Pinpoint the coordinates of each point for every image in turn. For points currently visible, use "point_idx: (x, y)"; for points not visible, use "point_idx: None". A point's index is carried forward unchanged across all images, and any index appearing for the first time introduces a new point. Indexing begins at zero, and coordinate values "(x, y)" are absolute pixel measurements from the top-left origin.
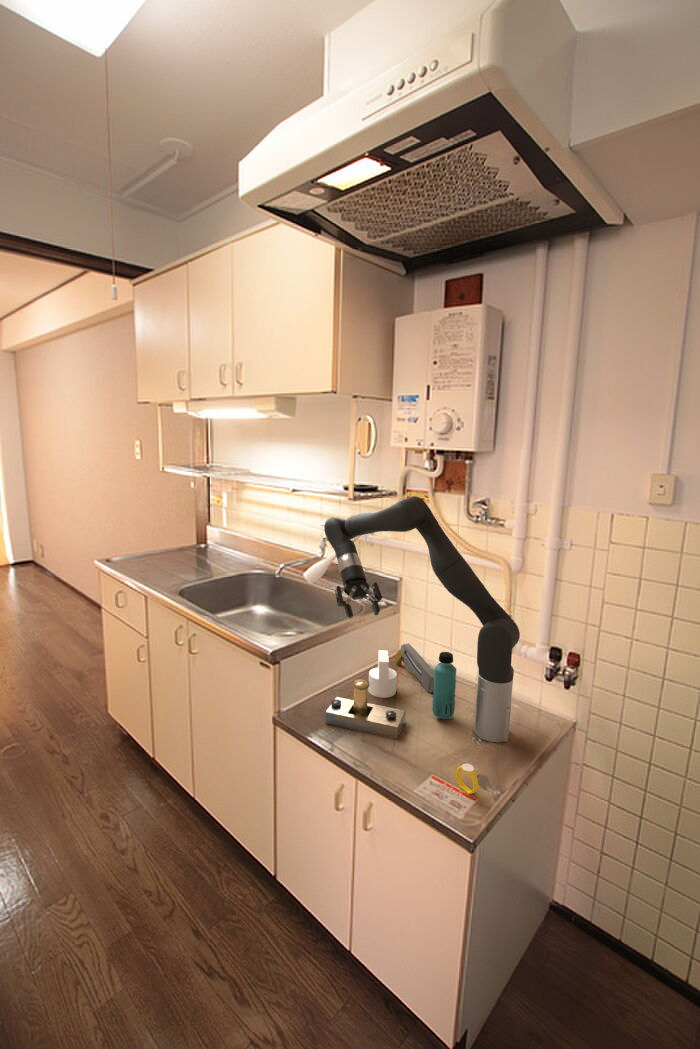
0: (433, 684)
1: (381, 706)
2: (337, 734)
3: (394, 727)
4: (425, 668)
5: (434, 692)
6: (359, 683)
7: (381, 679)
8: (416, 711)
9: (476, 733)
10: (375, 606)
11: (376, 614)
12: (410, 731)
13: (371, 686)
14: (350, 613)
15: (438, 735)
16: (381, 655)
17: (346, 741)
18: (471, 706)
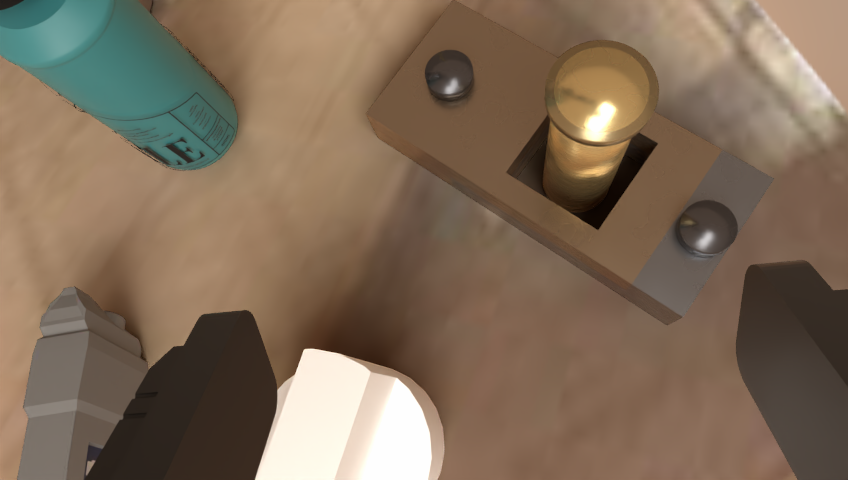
0: (106, 320)
1: (463, 170)
2: (705, 106)
3: (464, 8)
4: (63, 422)
5: (186, 81)
6: (615, 83)
7: (381, 368)
8: (287, 208)
9: (148, 2)
10: (198, 394)
11: (256, 355)
12: (382, 72)
13: (434, 421)
14: (820, 278)
15: (287, 29)
16: (314, 474)
17: (674, 53)
18: (39, 195)
